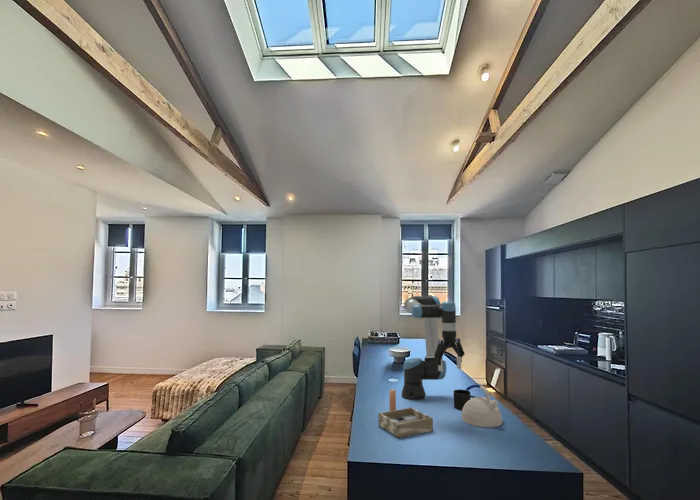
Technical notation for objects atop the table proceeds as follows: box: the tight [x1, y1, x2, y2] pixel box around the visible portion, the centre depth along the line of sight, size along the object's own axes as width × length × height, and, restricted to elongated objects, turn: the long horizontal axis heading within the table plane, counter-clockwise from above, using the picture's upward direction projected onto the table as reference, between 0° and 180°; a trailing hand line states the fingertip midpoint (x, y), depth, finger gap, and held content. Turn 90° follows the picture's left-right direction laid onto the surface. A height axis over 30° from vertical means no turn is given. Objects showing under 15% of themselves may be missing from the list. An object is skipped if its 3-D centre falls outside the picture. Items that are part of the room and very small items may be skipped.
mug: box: [453, 389, 475, 411], centre depth 221 cm, size 9×12×9 cm
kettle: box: [461, 384, 503, 428], centre depth 200 cm, size 20×21×18 cm
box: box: [378, 407, 434, 438], centre depth 189 cm, size 18×20×6 cm
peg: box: [388, 389, 397, 411], centre depth 205 cm, size 3×3×14 cm
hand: (450, 369), depth 207 cm, fingers open, 13 cm apart
